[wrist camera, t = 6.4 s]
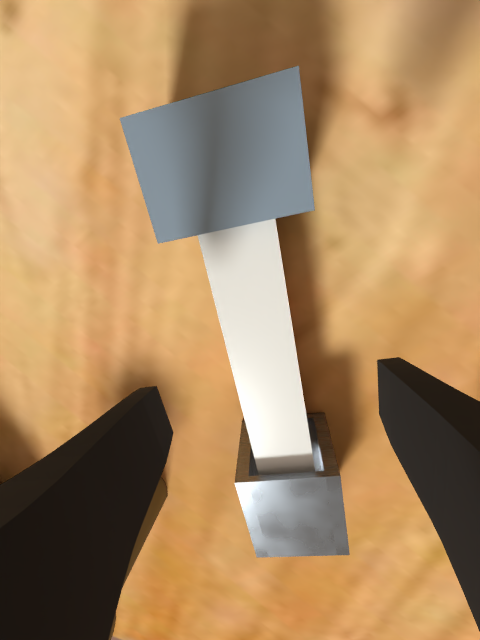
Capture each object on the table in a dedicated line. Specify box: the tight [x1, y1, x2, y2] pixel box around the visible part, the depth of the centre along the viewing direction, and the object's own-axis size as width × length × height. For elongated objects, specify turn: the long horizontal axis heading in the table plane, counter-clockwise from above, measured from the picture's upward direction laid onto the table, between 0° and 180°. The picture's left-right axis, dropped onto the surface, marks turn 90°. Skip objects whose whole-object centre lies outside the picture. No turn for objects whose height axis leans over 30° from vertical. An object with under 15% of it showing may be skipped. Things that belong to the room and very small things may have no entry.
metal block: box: [235, 413, 350, 557], centre depth 21 cm, size 6×7×5 cm
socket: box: [120, 66, 315, 243], centre depth 13 cm, size 6×4×5 cm
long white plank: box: [198, 219, 315, 475], centre depth 16 cm, size 4×19×4 cm, turn 12°
